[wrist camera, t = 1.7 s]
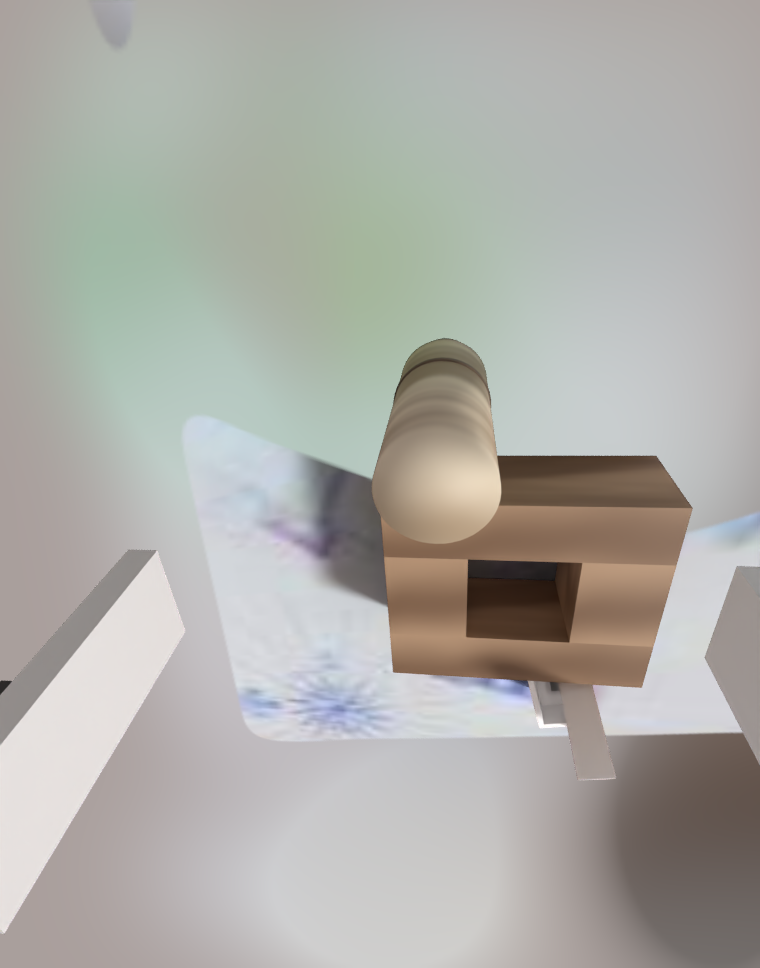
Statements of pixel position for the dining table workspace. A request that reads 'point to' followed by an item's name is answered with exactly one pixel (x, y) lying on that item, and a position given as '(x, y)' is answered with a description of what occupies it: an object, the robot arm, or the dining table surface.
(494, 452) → the peg
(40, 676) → the robot arm
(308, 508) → the dining table surface
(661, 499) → the brown thick square frame
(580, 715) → the white angled block
